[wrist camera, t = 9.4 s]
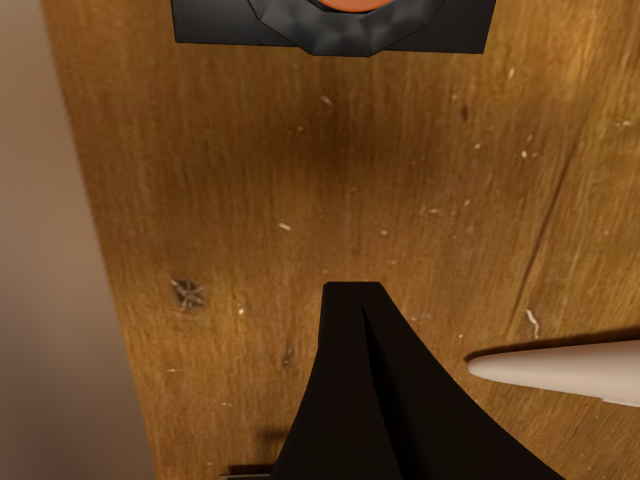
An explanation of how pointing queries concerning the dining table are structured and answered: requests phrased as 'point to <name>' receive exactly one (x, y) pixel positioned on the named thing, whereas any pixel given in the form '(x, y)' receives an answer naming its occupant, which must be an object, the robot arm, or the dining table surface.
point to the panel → (337, 25)
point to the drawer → (249, 478)
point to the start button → (355, 4)
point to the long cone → (570, 370)
